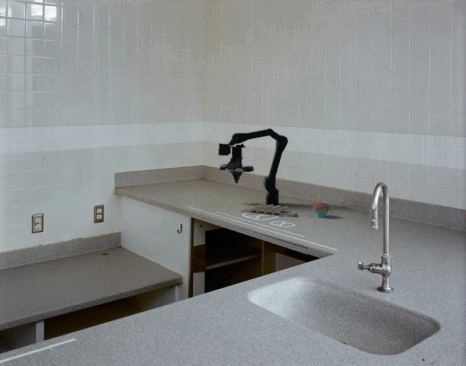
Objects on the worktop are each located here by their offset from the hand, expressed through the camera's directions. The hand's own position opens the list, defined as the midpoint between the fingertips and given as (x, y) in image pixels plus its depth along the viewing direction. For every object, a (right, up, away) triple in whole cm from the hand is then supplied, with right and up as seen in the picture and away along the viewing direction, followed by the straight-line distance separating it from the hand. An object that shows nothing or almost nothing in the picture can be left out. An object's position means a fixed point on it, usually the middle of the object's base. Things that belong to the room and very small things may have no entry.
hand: (236, 183), depth 311 cm
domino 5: (+23, -15, -25) cm, 37 cm away
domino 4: (+19, -15, -23) cm, 33 cm away
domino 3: (+15, -15, -21) cm, 30 cm away
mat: (+14, -16, -20) cm, 29 cm away
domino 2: (+11, -14, -19) cm, 26 cm away
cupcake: (+43, -17, -26) cm, 53 cm away
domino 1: (+8, -14, -17) cm, 23 cm away
